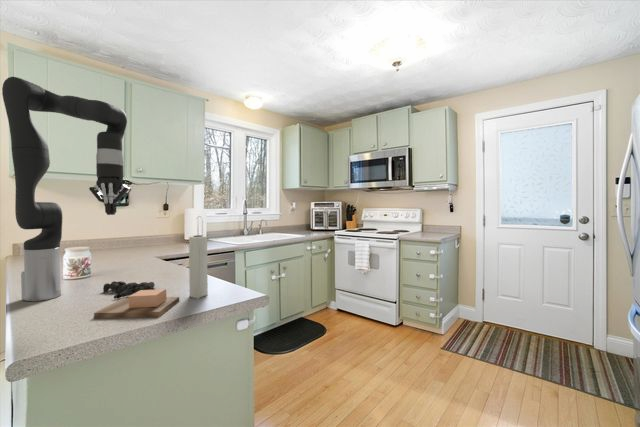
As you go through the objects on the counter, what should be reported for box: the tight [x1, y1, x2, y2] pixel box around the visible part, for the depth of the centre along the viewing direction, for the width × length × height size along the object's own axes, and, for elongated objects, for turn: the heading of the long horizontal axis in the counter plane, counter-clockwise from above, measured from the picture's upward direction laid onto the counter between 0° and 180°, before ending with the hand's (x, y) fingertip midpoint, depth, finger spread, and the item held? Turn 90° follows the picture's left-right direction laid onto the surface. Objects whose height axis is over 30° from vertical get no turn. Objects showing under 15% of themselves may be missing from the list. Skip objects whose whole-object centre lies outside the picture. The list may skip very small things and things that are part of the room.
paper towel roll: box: [188, 234, 209, 299], centre depth 106 cm, size 7×6×21 cm
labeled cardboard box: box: [128, 288, 167, 308], centre depth 92 cm, size 4×6×8 cm
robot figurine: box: [102, 281, 156, 300], centre depth 111 cm, size 18×4×20 cm
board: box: [93, 296, 180, 319], centre depth 92 cm, size 18×14×2 cm
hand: (111, 214), depth 102 cm, fingers closed
